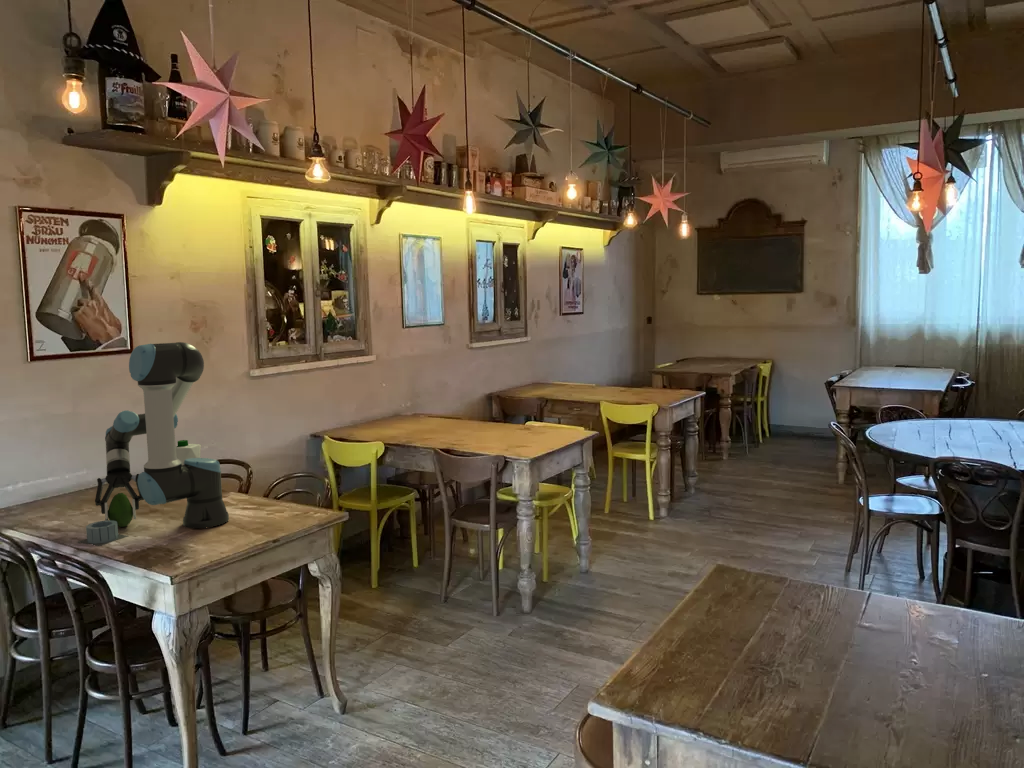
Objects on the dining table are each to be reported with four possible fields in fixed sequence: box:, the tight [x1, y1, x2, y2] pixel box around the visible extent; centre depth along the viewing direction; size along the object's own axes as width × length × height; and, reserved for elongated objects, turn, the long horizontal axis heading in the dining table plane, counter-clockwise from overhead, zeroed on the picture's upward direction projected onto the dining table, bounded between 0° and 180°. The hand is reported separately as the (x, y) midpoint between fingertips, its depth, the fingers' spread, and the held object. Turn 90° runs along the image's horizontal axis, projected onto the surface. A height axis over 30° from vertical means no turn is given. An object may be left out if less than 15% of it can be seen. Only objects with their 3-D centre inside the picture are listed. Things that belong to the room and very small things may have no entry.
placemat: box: [76, 533, 129, 547], centre depth 247 cm, size 11×11×1 cm
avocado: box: [108, 492, 134, 528], centre depth 260 cm, size 8×8×12 cm
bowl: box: [85, 519, 119, 544], centre depth 247 cm, size 9×9×5 cm
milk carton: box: [176, 439, 202, 465], centre depth 313 cm, size 9×9×20 cm
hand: (120, 518), depth 257 cm, fingers closed on avocado, 8 cm apart
